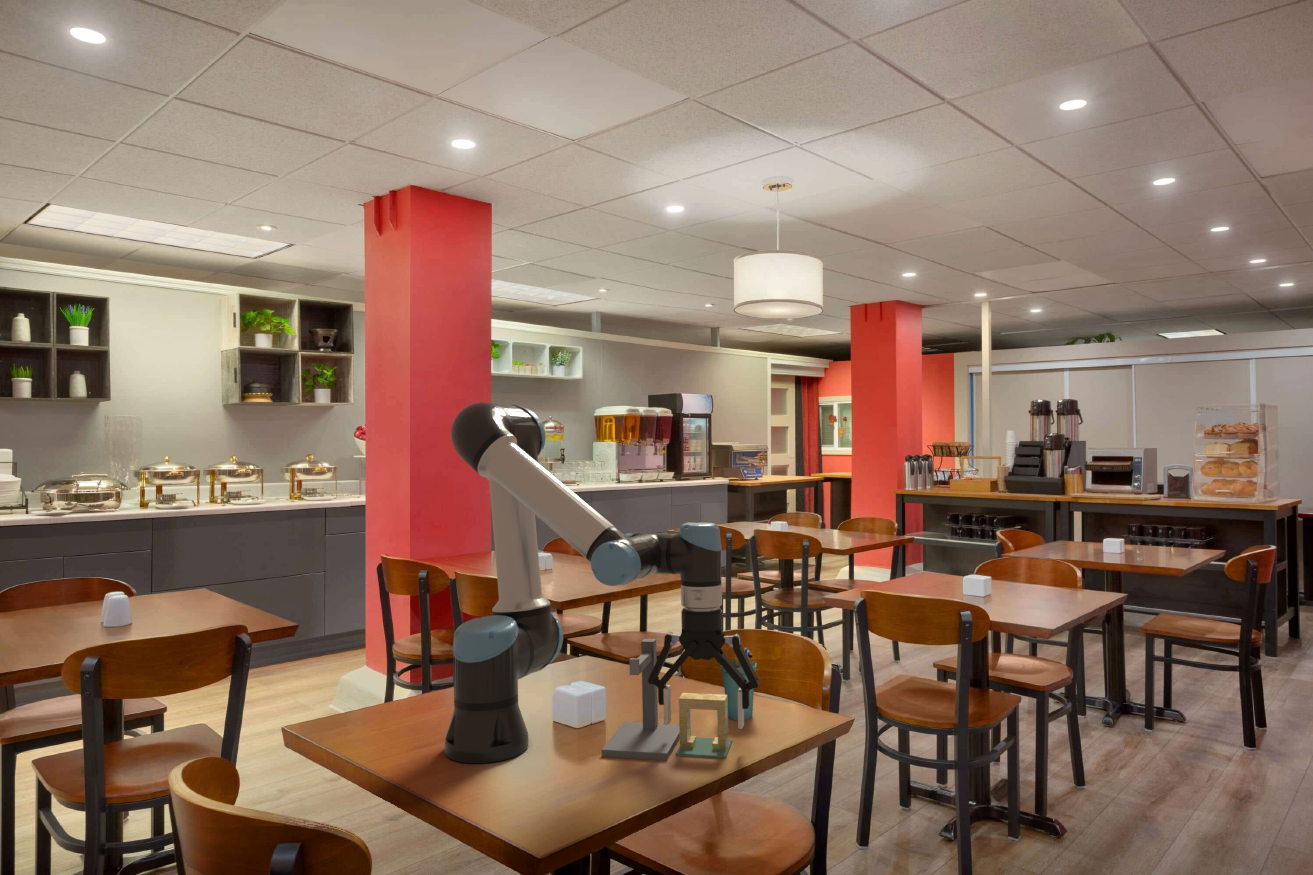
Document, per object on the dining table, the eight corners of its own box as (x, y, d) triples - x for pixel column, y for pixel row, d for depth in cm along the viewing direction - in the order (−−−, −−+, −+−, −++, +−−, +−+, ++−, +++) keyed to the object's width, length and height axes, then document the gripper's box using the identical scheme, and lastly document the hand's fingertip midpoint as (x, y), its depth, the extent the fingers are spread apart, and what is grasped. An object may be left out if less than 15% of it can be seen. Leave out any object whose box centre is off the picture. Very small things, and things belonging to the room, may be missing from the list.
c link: (679, 748, 150) (678, 698, 150) (683, 741, 154) (682, 692, 154) (725, 750, 148) (724, 700, 148) (728, 744, 152) (727, 694, 152)
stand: (601, 756, 148) (599, 654, 148) (624, 727, 163) (622, 636, 164) (667, 760, 145) (665, 657, 146) (684, 730, 161) (682, 637, 161)
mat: (675, 755, 147) (675, 753, 147) (684, 738, 156) (684, 736, 156) (725, 758, 146) (725, 756, 146) (732, 741, 154) (732, 739, 154)
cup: (771, 726, 162) (769, 649, 163) (733, 729, 161) (731, 652, 161) (748, 706, 176) (747, 635, 176) (713, 709, 174) (711, 637, 175)
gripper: (630, 609, 151) (632, 727, 150) (768, 612, 145) (771, 734, 145) (640, 602, 158) (642, 714, 157) (771, 605, 153) (774, 721, 152)
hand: (704, 724), depth 151 cm, fingers open, 13 cm apart
